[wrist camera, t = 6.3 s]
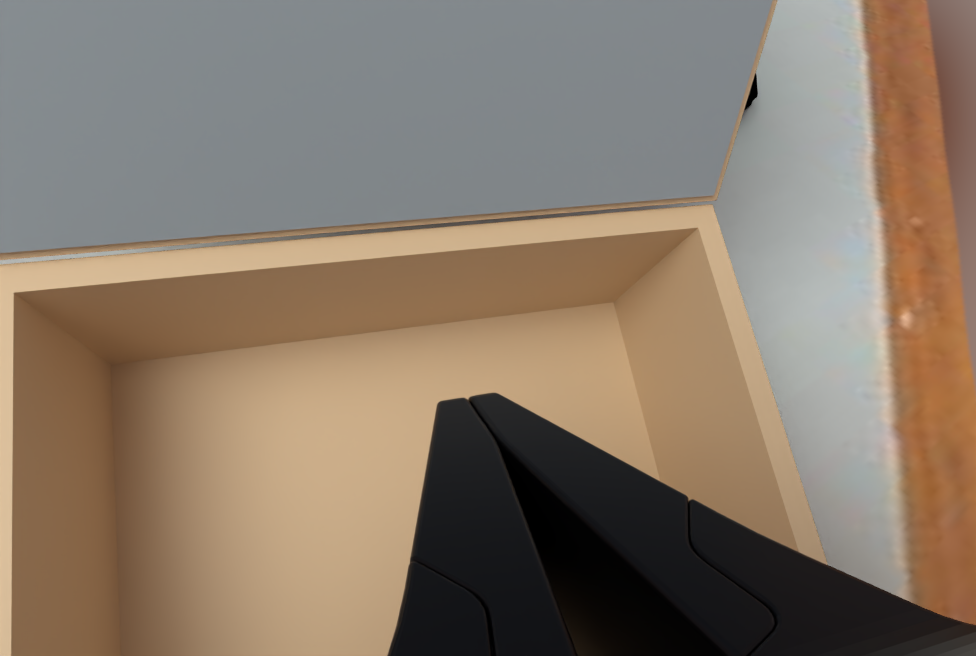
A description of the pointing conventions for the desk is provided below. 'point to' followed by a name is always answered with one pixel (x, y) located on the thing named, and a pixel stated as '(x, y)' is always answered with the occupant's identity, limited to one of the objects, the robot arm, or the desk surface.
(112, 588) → the mailer box
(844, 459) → the desk surface
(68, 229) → the mailer lid
